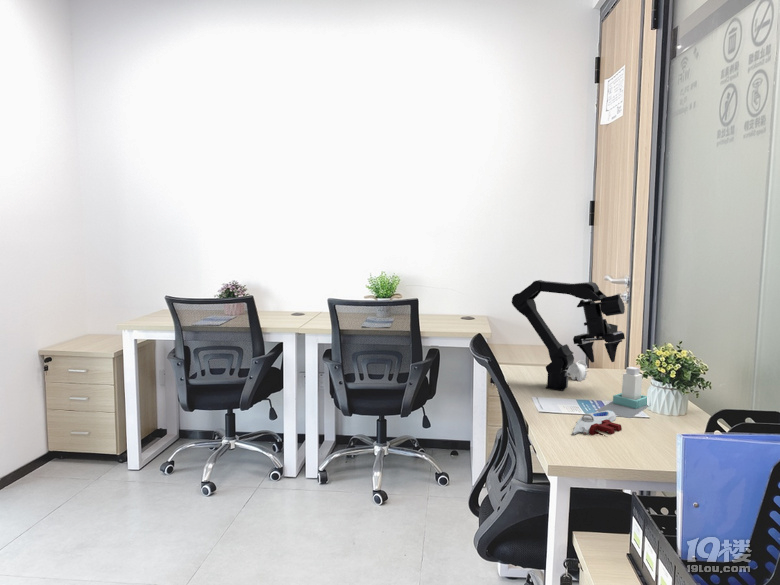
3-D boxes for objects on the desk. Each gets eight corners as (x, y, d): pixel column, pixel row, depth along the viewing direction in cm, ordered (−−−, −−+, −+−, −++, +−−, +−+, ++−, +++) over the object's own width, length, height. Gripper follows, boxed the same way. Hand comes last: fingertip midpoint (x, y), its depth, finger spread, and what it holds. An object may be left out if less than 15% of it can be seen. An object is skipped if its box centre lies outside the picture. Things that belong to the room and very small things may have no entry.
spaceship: (601, 416, 196) (602, 402, 196) (621, 422, 191) (622, 407, 191) (559, 432, 181) (560, 417, 180) (580, 439, 176) (581, 423, 175)
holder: (612, 402, 206) (613, 395, 206) (625, 398, 212) (626, 391, 211) (636, 408, 200) (636, 401, 200) (648, 404, 206) (649, 396, 205)
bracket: (607, 418, 185) (589, 425, 179) (625, 423, 181) (607, 431, 175) (607, 427, 186) (589, 435, 179) (625, 432, 181) (607, 440, 175)
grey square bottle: (621, 403, 206) (623, 367, 205) (628, 400, 209) (630, 365, 208) (633, 406, 203) (635, 370, 201) (640, 404, 206) (642, 368, 204)
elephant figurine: (568, 375, 247) (569, 357, 246) (591, 379, 241) (592, 361, 240) (559, 378, 241) (560, 360, 241) (583, 383, 235) (584, 364, 234)
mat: (630, 421, 191) (630, 418, 191) (595, 413, 198) (595, 410, 198) (653, 406, 207) (653, 403, 207) (620, 399, 214) (620, 396, 214)
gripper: (631, 311, 213) (640, 356, 213) (590, 316, 230) (598, 357, 229) (608, 317, 208) (617, 363, 208) (568, 321, 224) (576, 364, 224)
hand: (602, 362), depth 217 cm, fingers open, 9 cm apart
